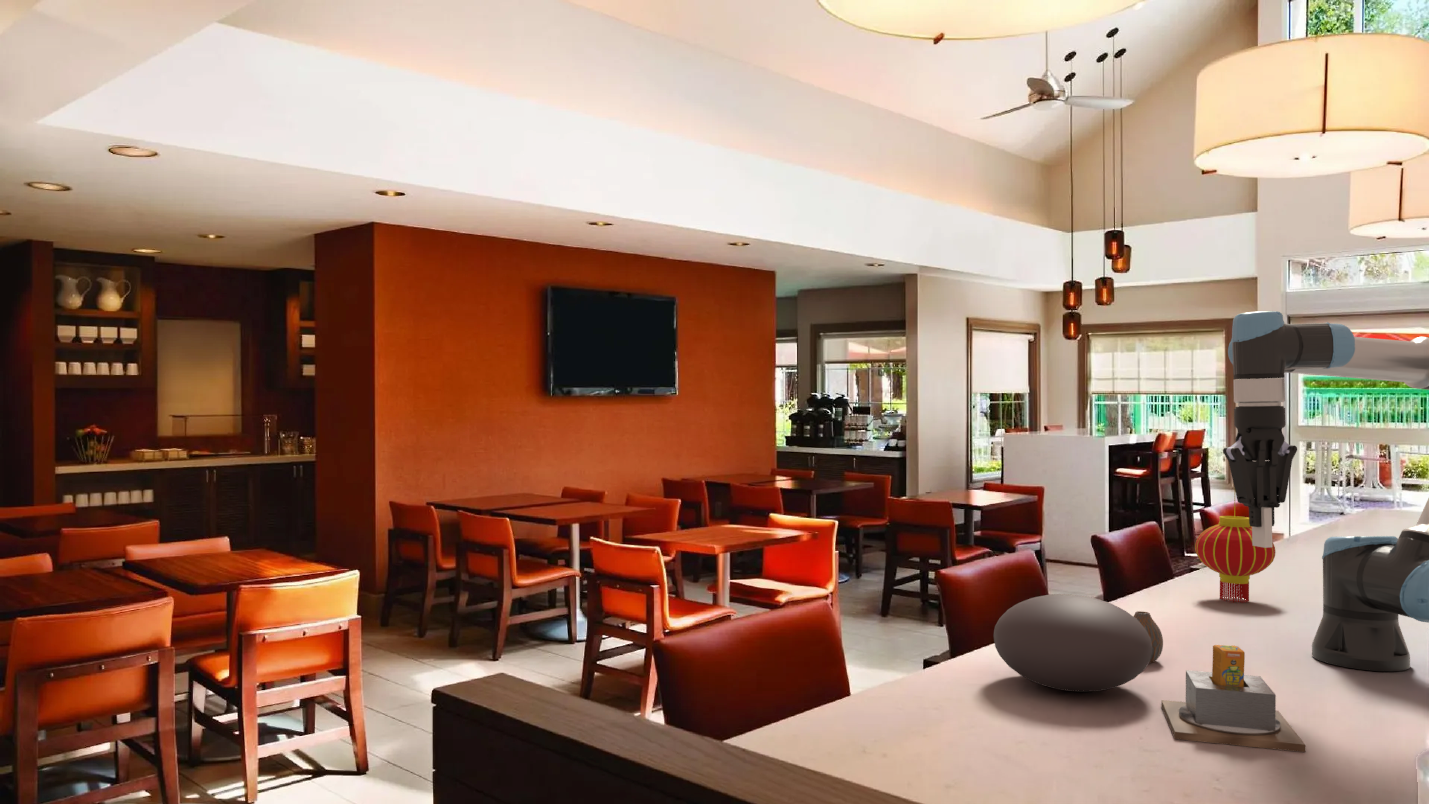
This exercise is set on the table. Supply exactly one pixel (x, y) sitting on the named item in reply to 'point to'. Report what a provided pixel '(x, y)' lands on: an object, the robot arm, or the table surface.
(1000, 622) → the smooth stone
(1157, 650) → the vase
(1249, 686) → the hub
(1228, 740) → the walnut board
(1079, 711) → the table surface
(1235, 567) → the lantern
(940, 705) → the table surface
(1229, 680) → the supplement box
